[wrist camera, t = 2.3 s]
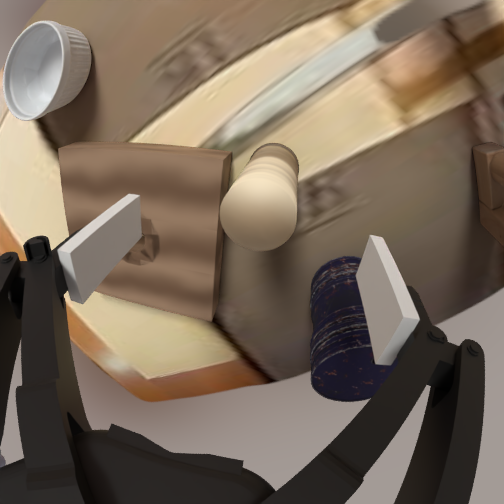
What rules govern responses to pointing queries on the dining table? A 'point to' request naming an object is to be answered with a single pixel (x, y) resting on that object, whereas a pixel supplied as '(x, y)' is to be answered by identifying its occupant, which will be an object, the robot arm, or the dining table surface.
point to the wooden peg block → (491, 187)
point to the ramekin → (45, 69)
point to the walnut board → (155, 218)
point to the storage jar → (342, 336)
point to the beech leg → (263, 200)
